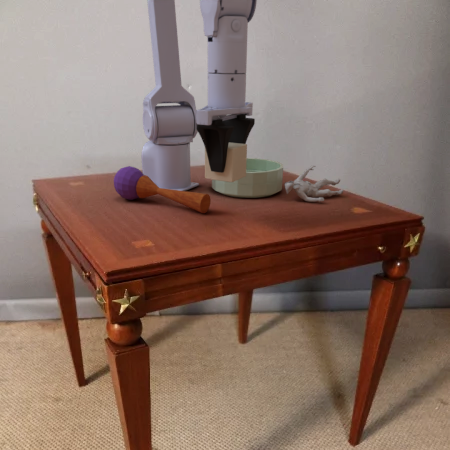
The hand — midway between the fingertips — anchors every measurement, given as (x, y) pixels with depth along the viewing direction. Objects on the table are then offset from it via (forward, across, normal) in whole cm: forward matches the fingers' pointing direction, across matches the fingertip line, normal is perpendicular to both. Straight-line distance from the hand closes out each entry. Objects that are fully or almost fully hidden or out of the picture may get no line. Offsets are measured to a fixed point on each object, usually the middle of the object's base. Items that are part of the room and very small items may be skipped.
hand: (225, 168), depth 80 cm
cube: (+1, 0, 0) cm, 1 cm away
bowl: (+8, +20, +6) cm, 22 cm away
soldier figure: (+8, +21, -8) cm, 24 cm away
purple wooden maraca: (+8, +2, +14) cm, 17 cm away
